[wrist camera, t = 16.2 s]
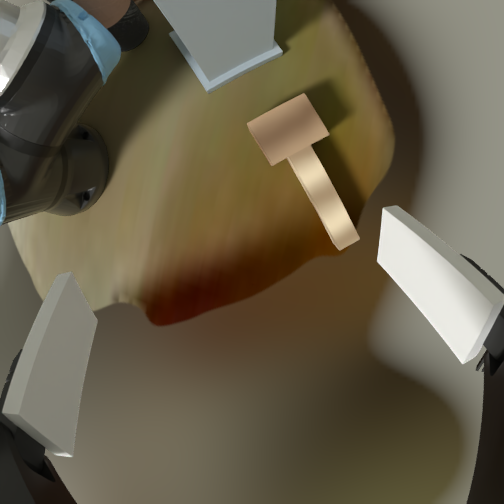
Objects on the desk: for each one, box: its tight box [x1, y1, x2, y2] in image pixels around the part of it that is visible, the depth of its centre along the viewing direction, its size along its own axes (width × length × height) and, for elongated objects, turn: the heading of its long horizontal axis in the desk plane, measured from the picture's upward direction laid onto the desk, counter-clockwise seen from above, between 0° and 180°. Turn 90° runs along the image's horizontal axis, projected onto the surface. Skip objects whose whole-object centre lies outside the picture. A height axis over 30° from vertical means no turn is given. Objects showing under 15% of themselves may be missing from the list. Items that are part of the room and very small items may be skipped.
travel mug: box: [47, 0, 149, 52], centre depth 25 cm, size 8×8×20 cm
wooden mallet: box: [247, 93, 360, 250], centre depth 38 cm, size 20×8×6 cm, turn 31°
